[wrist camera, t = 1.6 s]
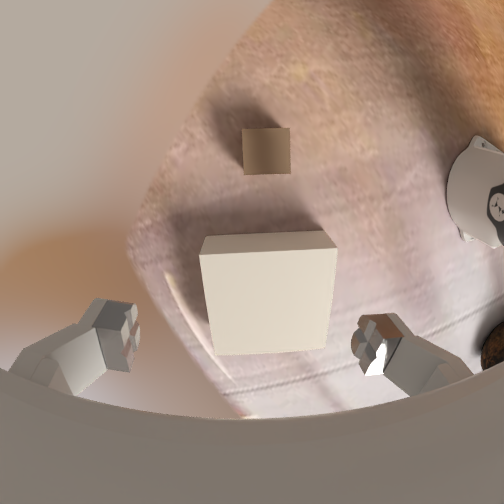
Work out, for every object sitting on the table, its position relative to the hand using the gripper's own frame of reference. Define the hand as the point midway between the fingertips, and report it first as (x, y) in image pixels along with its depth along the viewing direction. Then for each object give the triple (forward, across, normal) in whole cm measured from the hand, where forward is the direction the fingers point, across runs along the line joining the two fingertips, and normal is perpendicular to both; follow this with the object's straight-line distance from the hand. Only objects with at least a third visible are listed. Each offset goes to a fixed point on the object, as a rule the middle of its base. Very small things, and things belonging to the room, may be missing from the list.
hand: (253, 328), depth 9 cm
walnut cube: (+27, -3, -6) cm, 27 cm away
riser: (+27, -6, +13) cm, 31 cm away
